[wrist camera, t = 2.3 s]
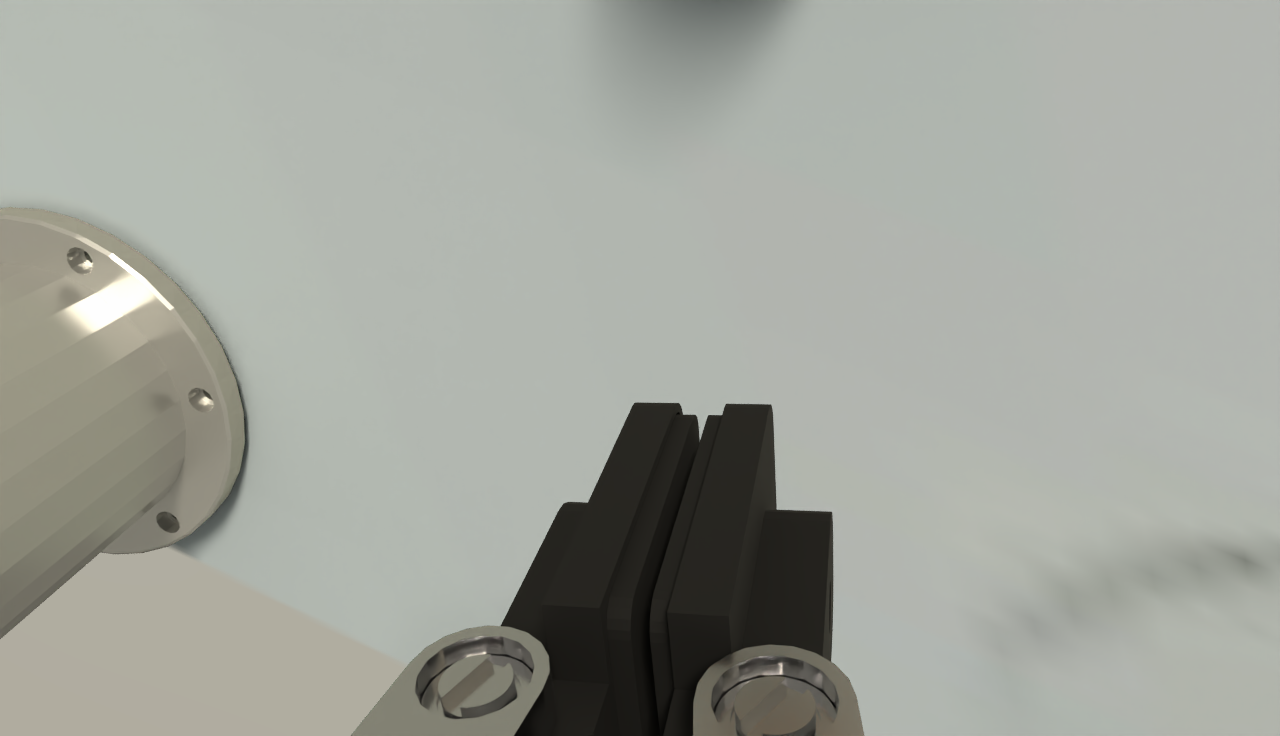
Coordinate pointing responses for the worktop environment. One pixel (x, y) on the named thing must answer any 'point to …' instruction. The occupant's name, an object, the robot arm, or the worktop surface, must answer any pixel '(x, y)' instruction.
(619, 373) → the worktop surface
